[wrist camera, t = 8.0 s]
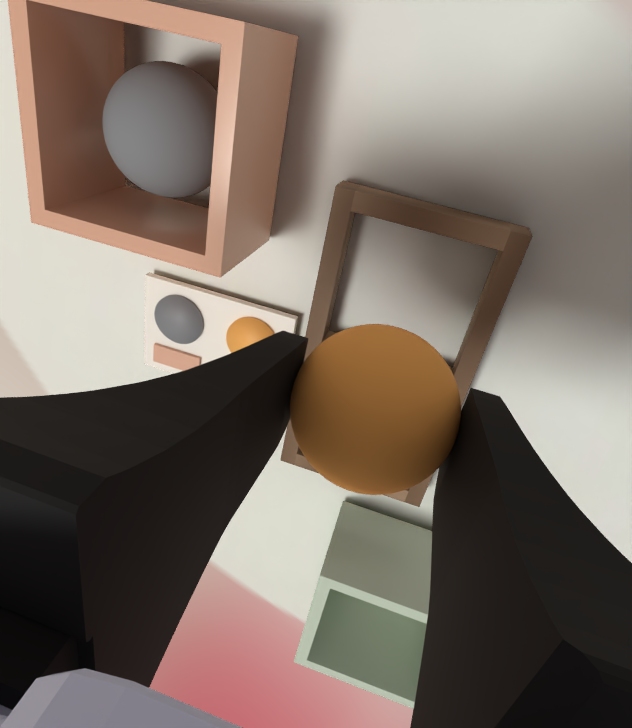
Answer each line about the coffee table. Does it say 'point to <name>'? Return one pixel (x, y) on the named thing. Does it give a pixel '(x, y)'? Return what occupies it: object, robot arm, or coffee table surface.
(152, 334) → the card
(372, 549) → the sage open box
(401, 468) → the orange ball
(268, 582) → the coffee table surface
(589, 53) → the coffee table surface
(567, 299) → the coffee table surface
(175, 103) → the grey ball
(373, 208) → the rack
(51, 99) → the pink open box
